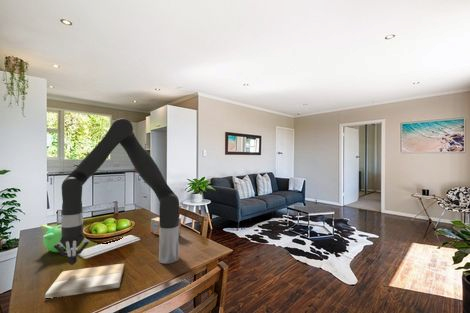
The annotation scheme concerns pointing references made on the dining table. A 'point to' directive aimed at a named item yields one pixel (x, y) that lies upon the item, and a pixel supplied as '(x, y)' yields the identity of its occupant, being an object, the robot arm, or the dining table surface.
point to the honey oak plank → (90, 272)
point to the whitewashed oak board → (84, 285)
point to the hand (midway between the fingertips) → (72, 263)
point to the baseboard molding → (107, 247)
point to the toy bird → (52, 237)
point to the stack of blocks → (156, 225)
